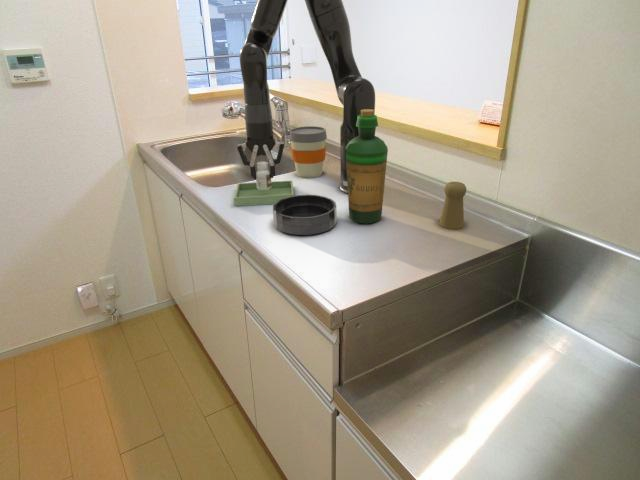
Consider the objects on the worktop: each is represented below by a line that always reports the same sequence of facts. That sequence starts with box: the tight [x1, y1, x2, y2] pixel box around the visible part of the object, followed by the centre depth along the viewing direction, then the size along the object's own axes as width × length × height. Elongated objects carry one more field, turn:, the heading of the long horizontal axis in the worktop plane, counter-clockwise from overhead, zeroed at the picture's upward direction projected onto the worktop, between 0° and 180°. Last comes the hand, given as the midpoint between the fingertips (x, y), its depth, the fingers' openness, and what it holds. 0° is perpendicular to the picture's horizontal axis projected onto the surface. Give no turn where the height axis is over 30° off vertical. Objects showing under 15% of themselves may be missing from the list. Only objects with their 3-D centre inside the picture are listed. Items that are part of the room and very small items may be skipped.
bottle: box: [346, 109, 389, 225], centre depth 113 cm, size 11×11×28 cm
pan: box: [272, 194, 338, 236], centre depth 117 cm, size 16×16×5 cm
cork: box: [439, 181, 467, 230], centre depth 112 cm, size 6×6×11 cm
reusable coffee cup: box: [288, 125, 328, 179], centre depth 153 cm, size 13×13×15 cm
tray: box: [233, 180, 295, 207], centre depth 136 cm, size 17×13×2 cm
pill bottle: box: [255, 161, 272, 190], centre depth 134 cm, size 4×4×8 cm
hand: (263, 177), depth 134 cm, fingers closed on pill bottle, 4 cm apart
